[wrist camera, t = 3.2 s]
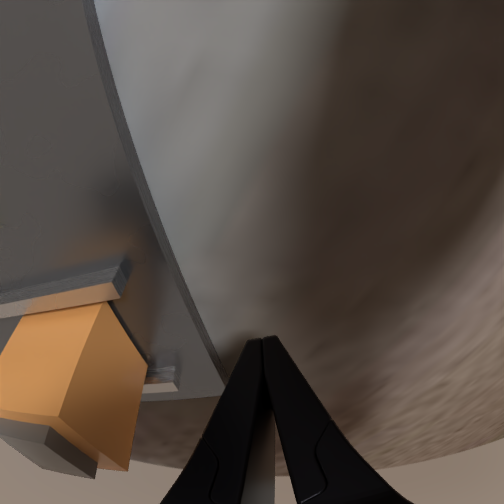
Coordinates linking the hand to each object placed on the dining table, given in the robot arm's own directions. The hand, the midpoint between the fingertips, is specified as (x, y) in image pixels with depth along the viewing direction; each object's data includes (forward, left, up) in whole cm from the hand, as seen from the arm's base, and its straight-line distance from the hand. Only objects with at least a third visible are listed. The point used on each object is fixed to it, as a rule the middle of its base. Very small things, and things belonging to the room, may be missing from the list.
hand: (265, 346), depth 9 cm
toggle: (+7, 0, -2) cm, 7 cm away
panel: (+11, -4, -2) cm, 12 cm away
